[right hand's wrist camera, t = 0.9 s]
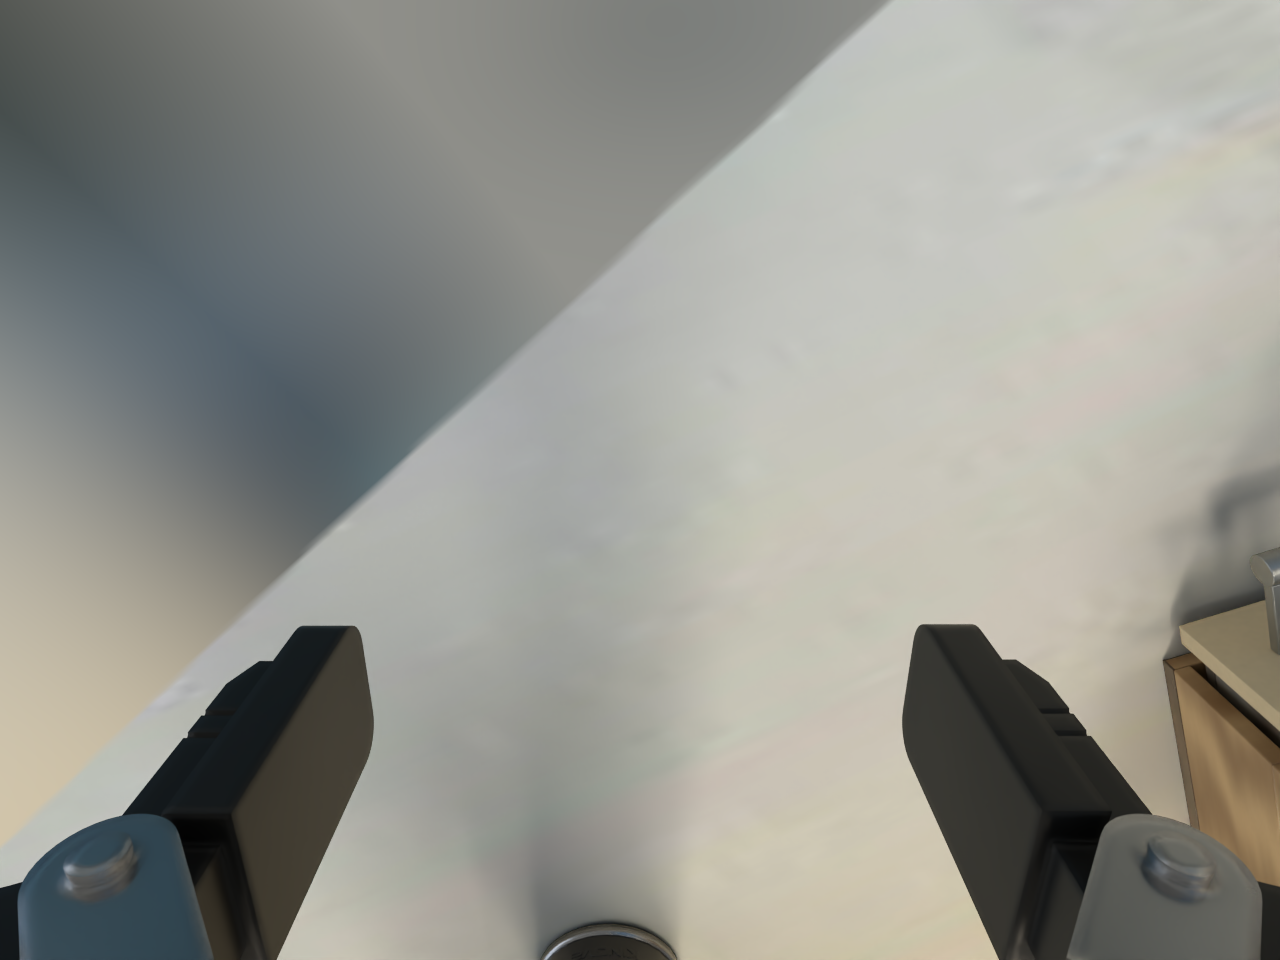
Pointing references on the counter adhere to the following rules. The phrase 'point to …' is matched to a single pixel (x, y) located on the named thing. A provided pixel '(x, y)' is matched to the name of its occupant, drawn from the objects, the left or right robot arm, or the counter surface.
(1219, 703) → the cabinet
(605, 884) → the counter surface
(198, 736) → the right robot arm
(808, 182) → the counter surface
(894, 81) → the counter surface
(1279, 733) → the drawer
